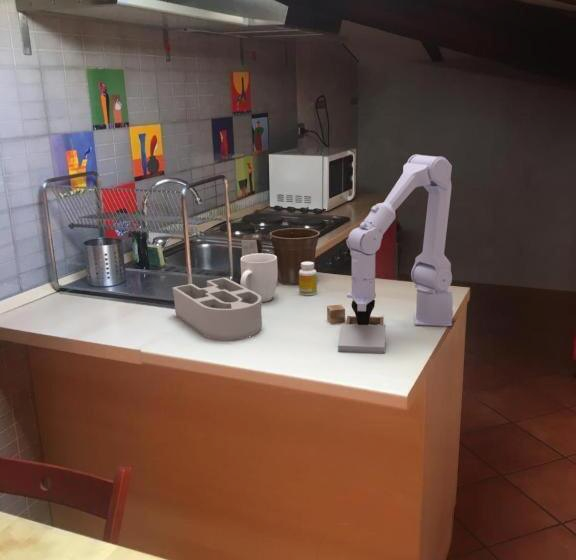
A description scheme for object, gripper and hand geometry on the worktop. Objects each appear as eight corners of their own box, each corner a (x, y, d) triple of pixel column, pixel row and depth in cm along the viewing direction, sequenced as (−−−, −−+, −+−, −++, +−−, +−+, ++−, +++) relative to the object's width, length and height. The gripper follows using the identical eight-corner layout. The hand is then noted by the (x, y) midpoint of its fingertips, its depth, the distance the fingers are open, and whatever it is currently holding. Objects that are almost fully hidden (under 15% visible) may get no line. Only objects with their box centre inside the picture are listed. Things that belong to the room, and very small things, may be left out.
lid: (385, 331, 157) (385, 325, 156) (384, 352, 151) (384, 347, 150) (341, 329, 159) (340, 324, 158) (338, 351, 153) (338, 345, 152)
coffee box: (263, 288, 204) (260, 239, 199) (242, 288, 204) (240, 239, 199) (264, 280, 212) (262, 233, 208) (245, 280, 213) (242, 233, 208)
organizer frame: (383, 323, 170) (383, 316, 169) (382, 343, 157) (382, 335, 156) (347, 322, 171) (347, 315, 171) (343, 341, 158) (343, 334, 158)
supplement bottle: (315, 296, 194) (314, 265, 192) (298, 295, 195) (297, 265, 193) (318, 290, 199) (317, 260, 197) (301, 290, 200) (300, 260, 198)
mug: (259, 311, 183) (257, 267, 179) (227, 305, 188) (225, 263, 184) (285, 296, 195) (283, 255, 191) (254, 292, 200) (253, 251, 197)
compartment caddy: (226, 305, 190) (225, 277, 187) (274, 332, 167) (273, 301, 164) (174, 316, 181) (171, 287, 179) (216, 347, 158) (214, 314, 156)
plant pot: (318, 272, 220) (317, 226, 215) (322, 286, 204) (321, 237, 199) (271, 274, 219) (269, 228, 215) (271, 288, 204) (269, 239, 199)
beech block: (341, 318, 175) (341, 304, 174) (345, 323, 171) (345, 309, 170) (327, 319, 174) (327, 305, 173) (330, 324, 171) (330, 310, 170)
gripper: (349, 268, 163) (349, 318, 167) (344, 285, 149) (344, 339, 153) (376, 269, 162) (376, 319, 165) (374, 286, 148) (374, 340, 152)
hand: (363, 329), depth 159 cm, fingers closed
